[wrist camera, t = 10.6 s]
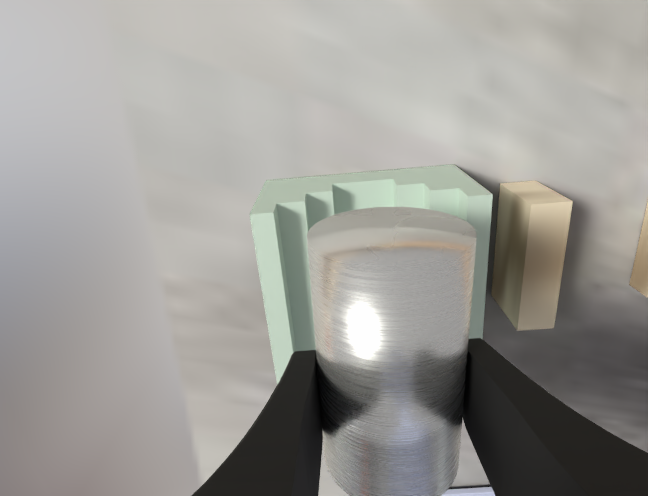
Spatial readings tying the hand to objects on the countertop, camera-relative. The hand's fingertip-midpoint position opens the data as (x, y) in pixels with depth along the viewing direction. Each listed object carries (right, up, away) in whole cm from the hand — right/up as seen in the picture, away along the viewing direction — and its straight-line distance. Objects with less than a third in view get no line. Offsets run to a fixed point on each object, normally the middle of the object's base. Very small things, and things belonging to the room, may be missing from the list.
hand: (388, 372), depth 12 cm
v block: (0, +3, +7) cm, 8 cm away
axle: (0, +2, +1) cm, 2 cm away
